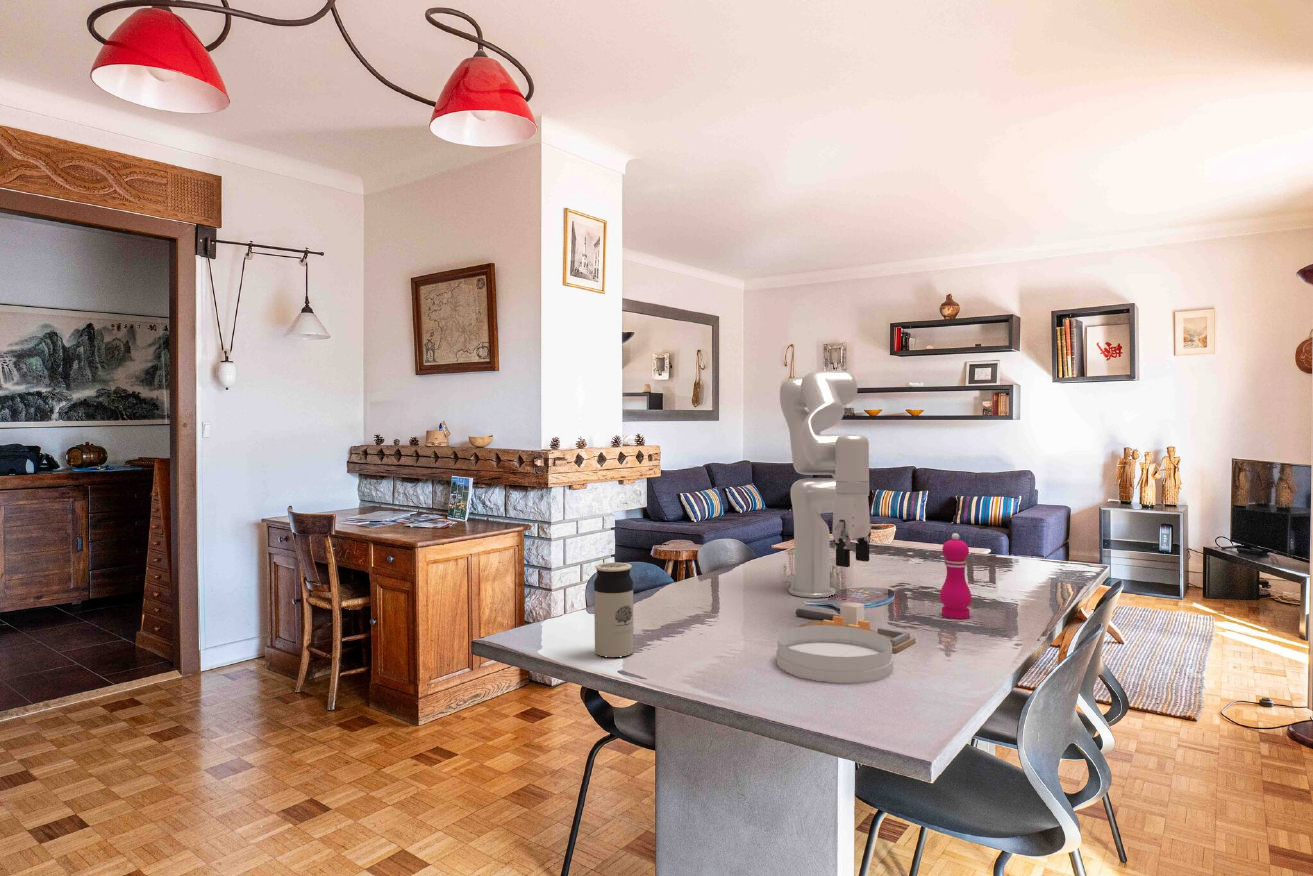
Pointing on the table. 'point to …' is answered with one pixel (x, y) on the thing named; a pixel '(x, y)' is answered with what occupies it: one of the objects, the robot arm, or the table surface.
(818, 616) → the connector
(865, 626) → the clip
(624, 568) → the travel mug
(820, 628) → the dish
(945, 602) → the pepper mill
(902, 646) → the board
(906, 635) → the end holder
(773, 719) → the table surface
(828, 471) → the robot arm
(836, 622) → the clip
